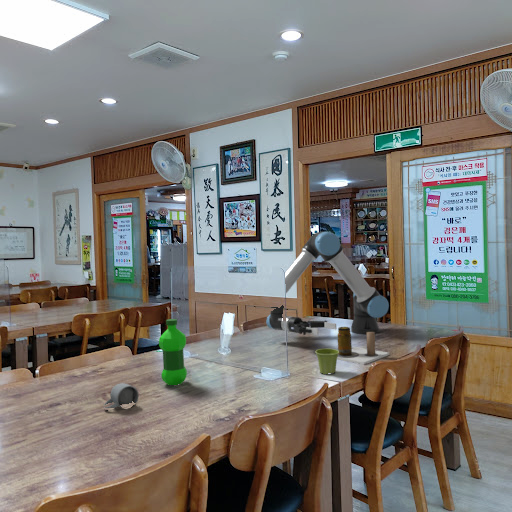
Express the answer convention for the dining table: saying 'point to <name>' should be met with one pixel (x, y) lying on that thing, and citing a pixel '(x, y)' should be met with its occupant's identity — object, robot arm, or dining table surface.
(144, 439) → the dining table surface
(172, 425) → the dining table surface
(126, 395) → the ceramic mug
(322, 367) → the plant pot
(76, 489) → the dining table surface
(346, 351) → the condiment
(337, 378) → the dining table surface
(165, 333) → the plastic bottle
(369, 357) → the board
